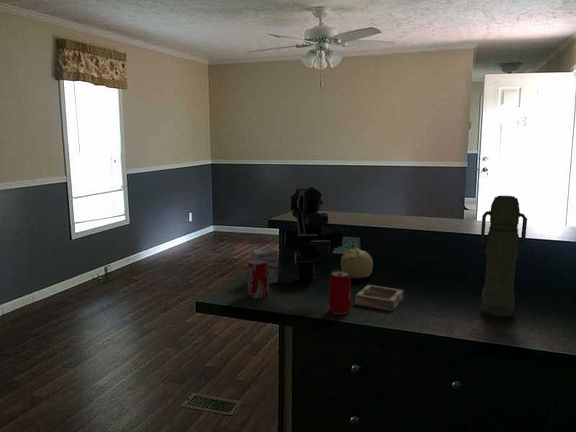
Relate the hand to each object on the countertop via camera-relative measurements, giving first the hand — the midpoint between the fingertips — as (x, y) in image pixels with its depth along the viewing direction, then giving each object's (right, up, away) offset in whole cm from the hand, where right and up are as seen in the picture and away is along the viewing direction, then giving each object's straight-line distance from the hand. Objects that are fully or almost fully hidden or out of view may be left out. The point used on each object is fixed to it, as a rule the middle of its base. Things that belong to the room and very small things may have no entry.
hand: (316, 257), depth 147 cm
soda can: (-19, -14, +9) cm, 25 cm away
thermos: (+54, -16, -5) cm, 57 cm away
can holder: (+20, -14, +4) cm, 25 cm away
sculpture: (+17, -10, +31) cm, 36 cm away
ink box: (-17, -11, +24) cm, 32 cm away
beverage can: (+7, -16, -4) cm, 18 cm away
